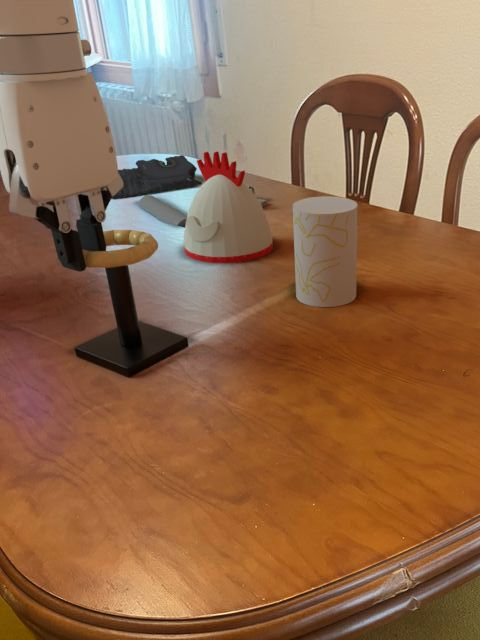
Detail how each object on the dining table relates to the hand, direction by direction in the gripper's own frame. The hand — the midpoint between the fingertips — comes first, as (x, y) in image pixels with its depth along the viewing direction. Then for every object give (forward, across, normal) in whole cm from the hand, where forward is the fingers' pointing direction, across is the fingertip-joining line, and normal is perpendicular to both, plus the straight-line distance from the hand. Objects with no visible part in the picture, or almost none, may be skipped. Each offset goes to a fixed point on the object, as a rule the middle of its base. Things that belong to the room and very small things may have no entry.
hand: (85, 263), depth 67 cm
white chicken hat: (+12, -36, -14) cm, 40 cm away
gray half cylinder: (+12, -45, -38) cm, 60 cm away
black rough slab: (+12, -59, -59) cm, 84 cm away
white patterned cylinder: (+12, -30, +9) cm, 33 cm away
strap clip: (+12, -57, -28) cm, 64 cm away
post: (+12, -4, 0) cm, 12 cm away
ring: (-1, -4, 0) cm, 4 cm away
